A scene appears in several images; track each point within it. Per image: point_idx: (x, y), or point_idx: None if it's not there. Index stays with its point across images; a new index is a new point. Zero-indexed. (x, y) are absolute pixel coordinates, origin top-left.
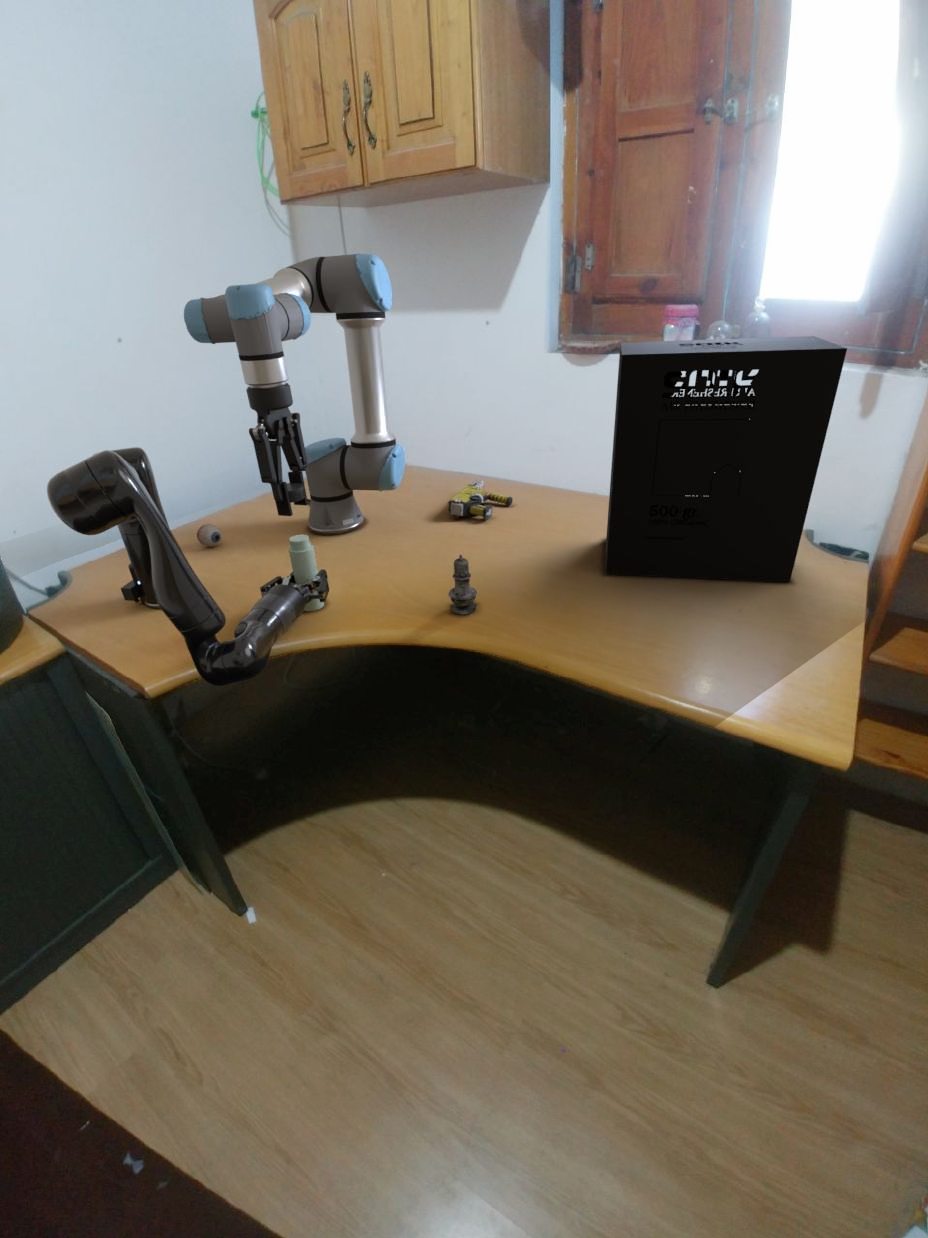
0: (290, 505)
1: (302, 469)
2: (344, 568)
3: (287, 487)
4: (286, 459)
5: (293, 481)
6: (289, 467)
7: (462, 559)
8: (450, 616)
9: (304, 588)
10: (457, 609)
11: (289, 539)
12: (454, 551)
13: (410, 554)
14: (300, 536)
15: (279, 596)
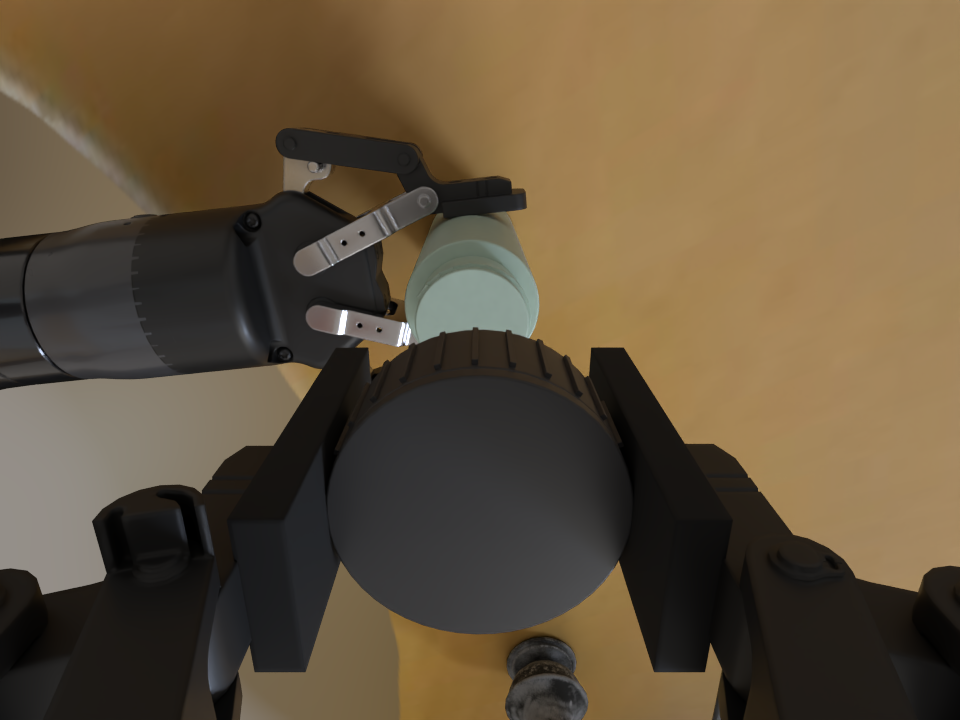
0: None
1: (716, 715)
2: (802, 208)
3: (460, 511)
4: (772, 708)
5: (639, 500)
6: (744, 582)
7: None
8: (495, 643)
9: (341, 335)
10: (519, 661)
11: (439, 280)
12: (938, 544)
13: (926, 413)
14: (495, 322)
15: (144, 350)
